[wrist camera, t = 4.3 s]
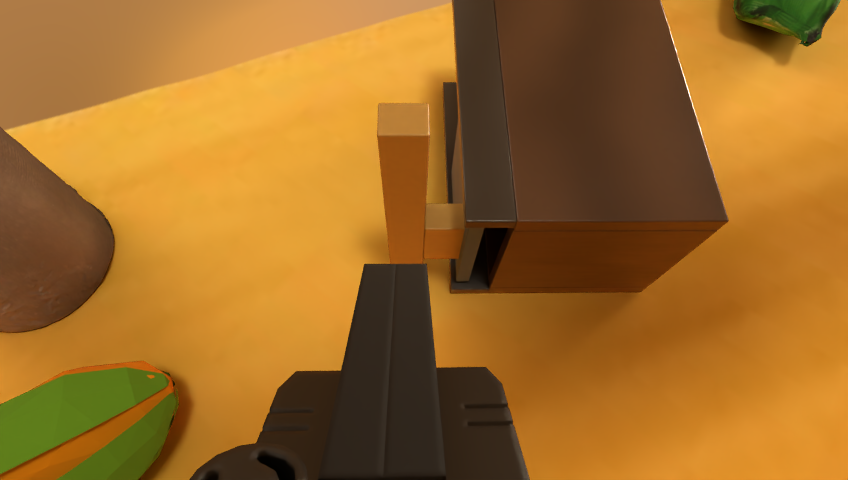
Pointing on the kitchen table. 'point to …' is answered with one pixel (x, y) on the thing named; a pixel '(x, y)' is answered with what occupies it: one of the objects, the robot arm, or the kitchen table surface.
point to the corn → (88, 424)
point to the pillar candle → (45, 242)
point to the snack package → (788, 16)
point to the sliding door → (420, 193)
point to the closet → (575, 146)
